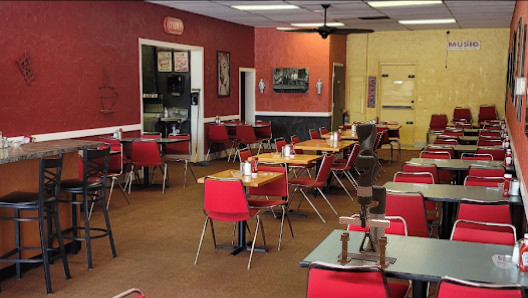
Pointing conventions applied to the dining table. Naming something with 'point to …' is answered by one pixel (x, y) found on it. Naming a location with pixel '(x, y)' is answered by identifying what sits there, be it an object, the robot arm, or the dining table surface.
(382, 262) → the stand
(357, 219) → the brown wooden bar
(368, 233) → the black triangular frame
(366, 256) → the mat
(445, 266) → the dining table surface
